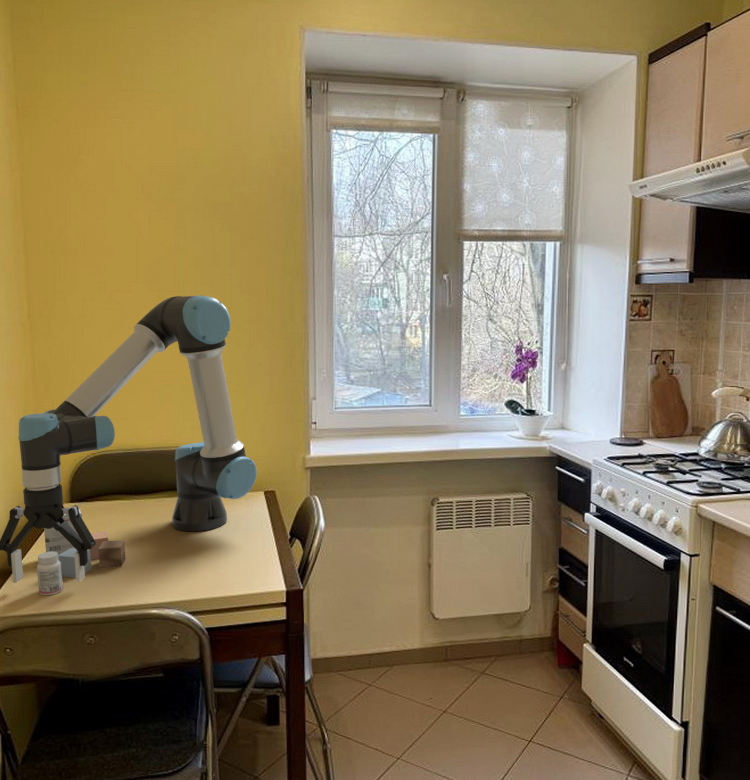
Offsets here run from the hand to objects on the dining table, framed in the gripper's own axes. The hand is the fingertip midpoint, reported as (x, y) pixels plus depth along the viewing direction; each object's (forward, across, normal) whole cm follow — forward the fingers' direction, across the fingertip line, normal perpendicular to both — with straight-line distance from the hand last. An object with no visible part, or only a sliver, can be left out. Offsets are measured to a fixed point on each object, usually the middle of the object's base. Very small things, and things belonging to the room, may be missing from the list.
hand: (49, 579), depth 146 cm
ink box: (+3, +5, -19) cm, 20 cm away
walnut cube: (+3, -8, -15) cm, 17 cm away
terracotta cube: (+3, -2, -21) cm, 21 cm away
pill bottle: (+3, 0, 0) cm, 3 cm away
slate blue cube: (+3, -1, -10) cm, 11 cm away
